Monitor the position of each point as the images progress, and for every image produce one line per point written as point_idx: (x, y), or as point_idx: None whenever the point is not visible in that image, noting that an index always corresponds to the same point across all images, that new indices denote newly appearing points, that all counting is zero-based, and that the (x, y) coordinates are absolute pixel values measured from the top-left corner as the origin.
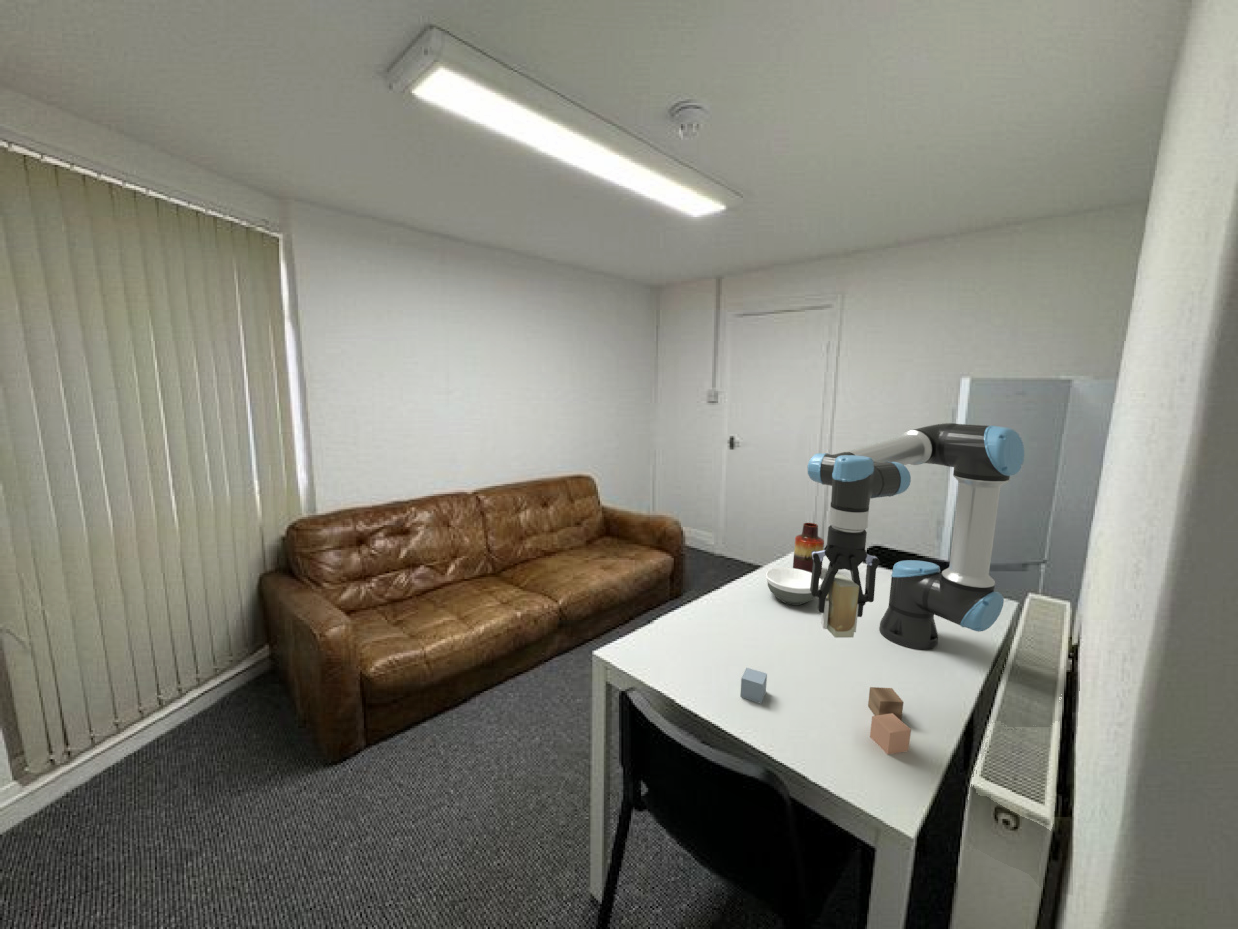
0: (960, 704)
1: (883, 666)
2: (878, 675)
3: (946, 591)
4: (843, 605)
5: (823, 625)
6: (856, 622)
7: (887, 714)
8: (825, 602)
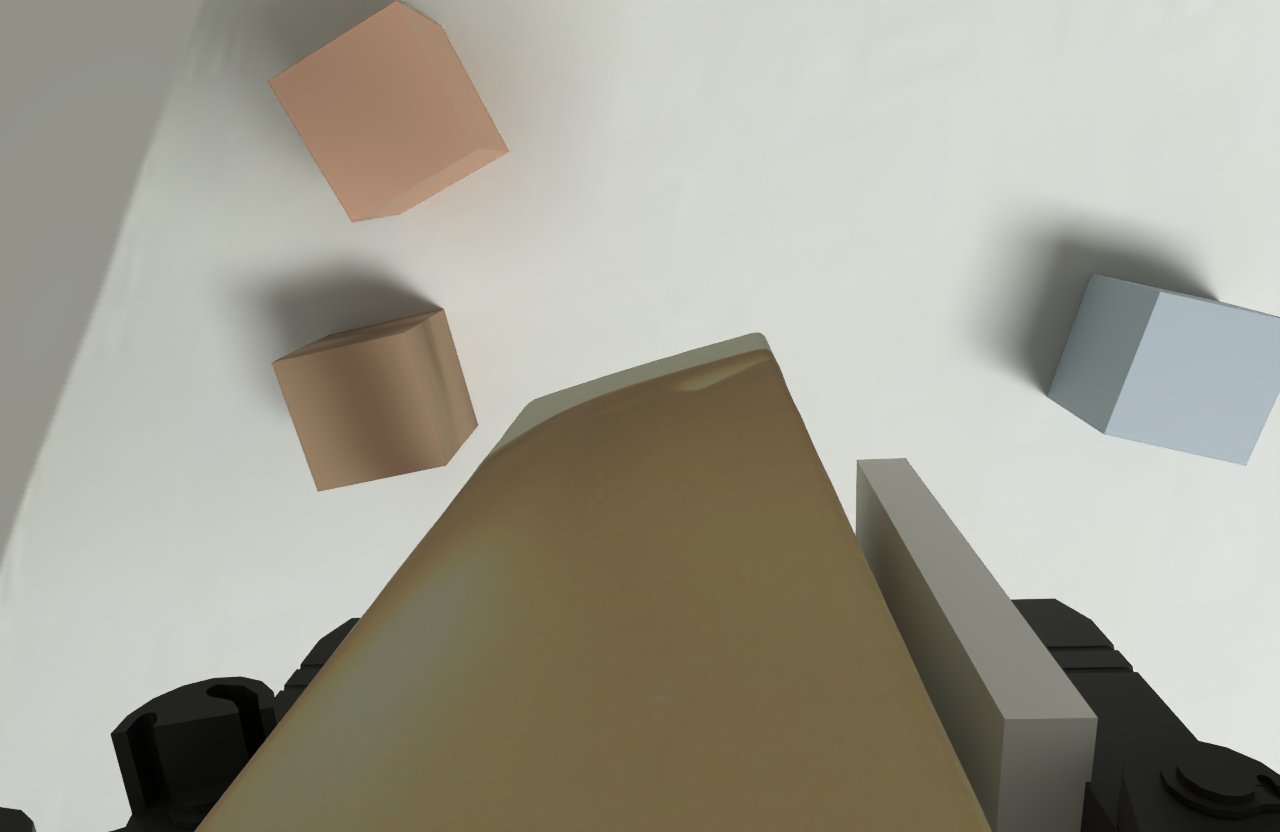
0: (24, 570)
1: None
2: None
3: None
4: (701, 527)
5: (916, 477)
6: None
7: (383, 198)
8: (1081, 699)
